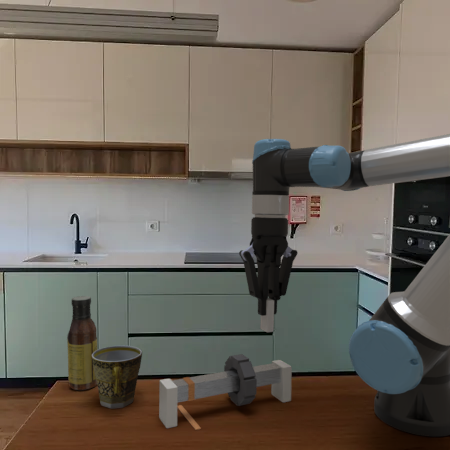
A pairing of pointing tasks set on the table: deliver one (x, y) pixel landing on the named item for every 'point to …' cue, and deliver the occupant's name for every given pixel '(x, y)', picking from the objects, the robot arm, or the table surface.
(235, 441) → the table surface
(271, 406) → the table surface
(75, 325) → the sauce bottle
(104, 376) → the ceramic cup
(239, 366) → the ring
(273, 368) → the light grey bar
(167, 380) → the stand
